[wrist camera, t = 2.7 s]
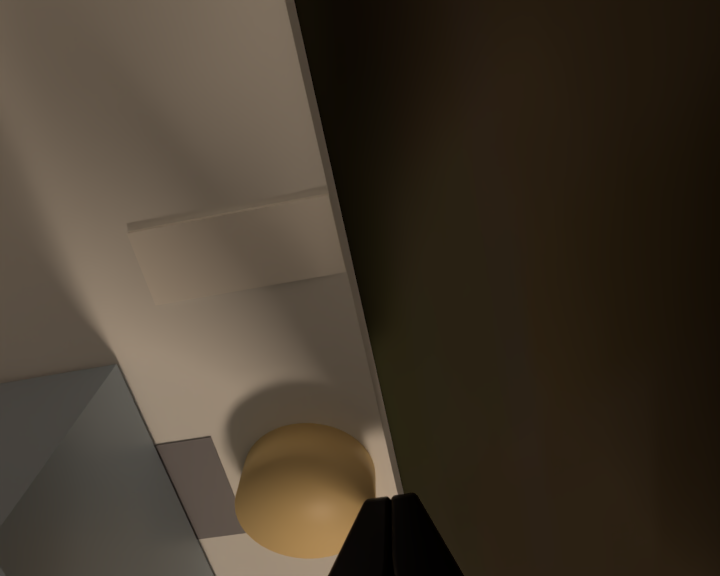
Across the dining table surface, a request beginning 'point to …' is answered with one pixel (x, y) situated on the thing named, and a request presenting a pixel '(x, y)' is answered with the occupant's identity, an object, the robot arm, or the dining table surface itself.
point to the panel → (193, 261)
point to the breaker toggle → (86, 484)
